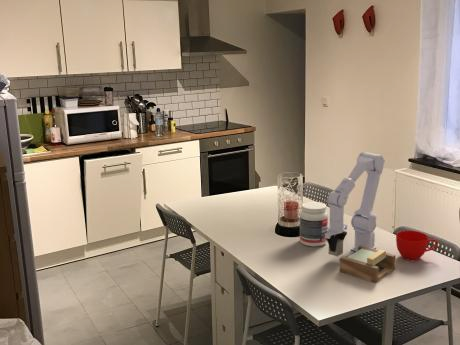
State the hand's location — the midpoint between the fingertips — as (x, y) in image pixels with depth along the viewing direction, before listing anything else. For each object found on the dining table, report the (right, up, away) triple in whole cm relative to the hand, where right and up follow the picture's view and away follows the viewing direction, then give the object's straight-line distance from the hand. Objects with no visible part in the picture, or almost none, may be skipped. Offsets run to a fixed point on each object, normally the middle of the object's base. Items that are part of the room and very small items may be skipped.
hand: (335, 249), depth 219 cm
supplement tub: (-6, 0, +22) cm, 23 cm away
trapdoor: (+11, -2, -10) cm, 14 cm away
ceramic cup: (+35, -4, +2) cm, 35 cm away
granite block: (0, -2, +1) cm, 2 cm away
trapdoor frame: (+11, -7, -9) cm, 16 cm away
